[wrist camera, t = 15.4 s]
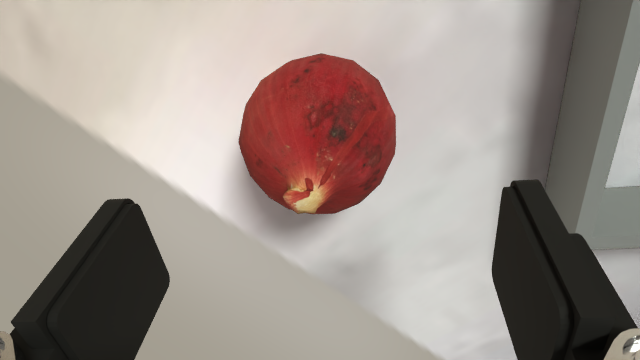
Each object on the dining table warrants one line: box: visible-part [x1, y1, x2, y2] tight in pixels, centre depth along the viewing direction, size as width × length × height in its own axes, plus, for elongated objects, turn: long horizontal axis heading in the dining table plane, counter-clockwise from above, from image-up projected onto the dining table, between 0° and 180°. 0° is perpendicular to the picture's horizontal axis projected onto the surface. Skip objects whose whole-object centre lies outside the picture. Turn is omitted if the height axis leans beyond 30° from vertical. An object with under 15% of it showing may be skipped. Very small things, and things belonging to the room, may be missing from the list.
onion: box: [239, 54, 396, 214], centre depth 17 cm, size 6×6×8 cm
